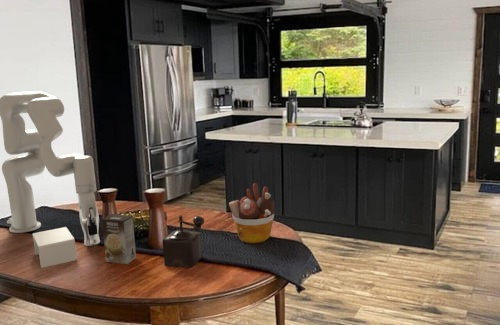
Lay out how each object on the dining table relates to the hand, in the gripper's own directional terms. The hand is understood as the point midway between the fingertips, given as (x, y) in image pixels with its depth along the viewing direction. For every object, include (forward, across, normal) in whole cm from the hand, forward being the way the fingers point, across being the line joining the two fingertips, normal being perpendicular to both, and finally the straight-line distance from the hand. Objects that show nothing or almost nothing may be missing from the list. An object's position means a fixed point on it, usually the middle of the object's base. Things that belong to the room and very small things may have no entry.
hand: (90, 231), depth 191 cm
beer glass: (+5, 0, 0) cm, 5 cm away
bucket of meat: (+5, +34, +54) cm, 64 cm away
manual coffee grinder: (+5, +40, +24) cm, 47 cm away
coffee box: (+5, +24, +5) cm, 25 cm away
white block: (+5, +6, -15) cm, 17 cm away
